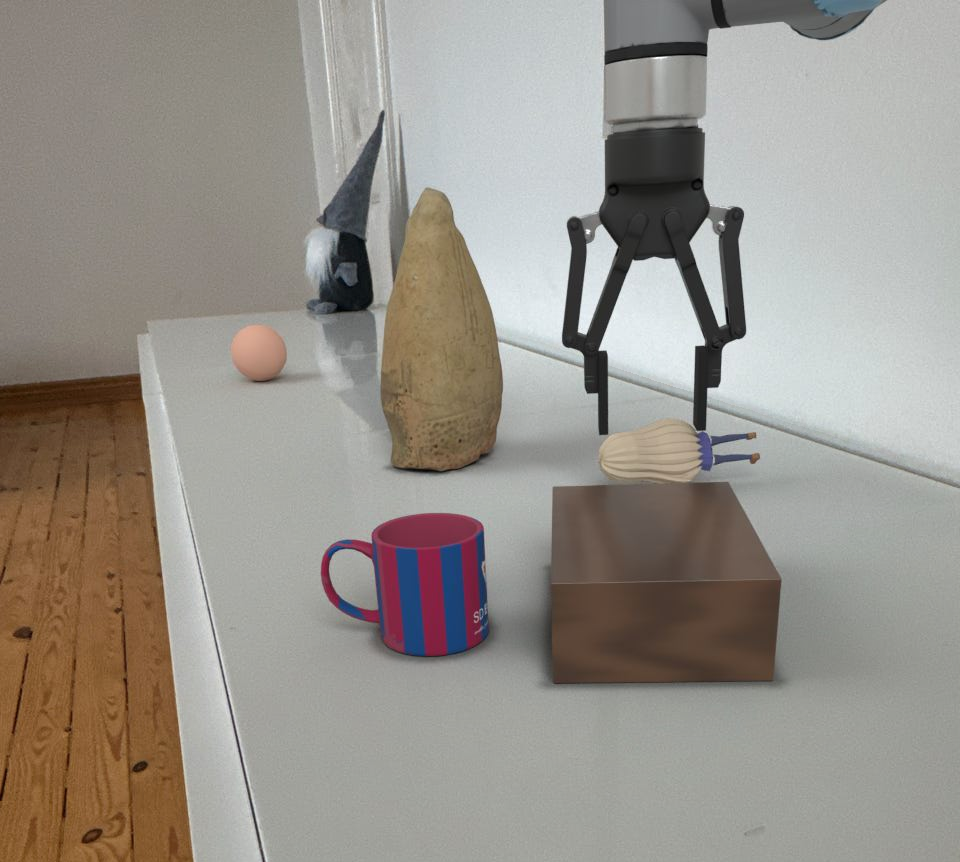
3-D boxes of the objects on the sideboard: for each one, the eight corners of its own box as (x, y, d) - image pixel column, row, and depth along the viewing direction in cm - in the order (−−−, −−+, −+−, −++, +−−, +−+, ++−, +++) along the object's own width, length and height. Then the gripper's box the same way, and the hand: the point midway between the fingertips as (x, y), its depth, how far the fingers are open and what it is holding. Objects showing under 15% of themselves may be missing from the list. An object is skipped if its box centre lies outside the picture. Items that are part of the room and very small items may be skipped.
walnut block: (723, 563, 71) (728, 481, 68) (773, 681, 54) (781, 578, 52) (554, 567, 72) (552, 486, 69) (553, 683, 55) (550, 583, 53)
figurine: (739, 420, 90) (585, 433, 86) (764, 405, 86) (603, 418, 82) (750, 484, 89) (595, 500, 86) (776, 471, 85) (614, 487, 81)
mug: (481, 658, 59) (475, 549, 56) (317, 655, 60) (303, 549, 57) (495, 612, 65) (490, 512, 62) (346, 611, 66) (334, 512, 63)
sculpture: (475, 439, 108) (462, 184, 97) (525, 461, 98) (516, 182, 88) (370, 456, 103) (344, 191, 93) (411, 481, 94) (388, 190, 83)
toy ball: (279, 373, 152) (271, 319, 148) (298, 380, 145) (291, 324, 142) (228, 380, 148) (219, 325, 145) (246, 388, 142) (237, 330, 138)
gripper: (781, 120, 78) (764, 414, 87) (521, 138, 80) (532, 424, 89) (803, 115, 71) (781, 434, 81) (518, 135, 73) (530, 445, 82)
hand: (651, 428), depth 85 cm, fingers closed on figurine, 7 cm apart
